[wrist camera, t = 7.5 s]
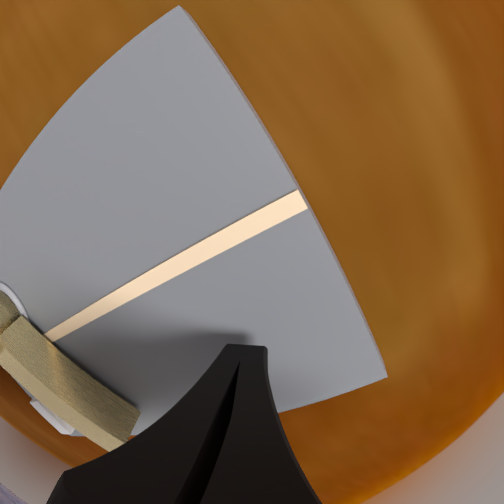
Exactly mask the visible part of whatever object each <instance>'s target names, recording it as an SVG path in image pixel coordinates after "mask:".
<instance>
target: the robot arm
mask: <svg viewBox="0 0 504 504" xmlns="http://www.w3.org/2000/svg"><path fill="white" fill-rule="evenodd" d="M0 504H27V503H26V502H24V501H23V500H21V499H20V498H19V497H17V496H16V495H15V494H14V493H12V492H11V491H10V490H9V489H7V488H6V487H5V486H4V485H2V484H1V483H0ZM46 504H322V503H321V501H320V500H319V498H318V497H317V495H316V493H315V492H314V490H313V489H312V487H311V485H310V484H309V482H308V480H307V478H306V476H305V474H304V473H303V471H302V469H301V467H300V465H299V463H298V461H297V460H296V457H295V455H294V453H293V451H292V449H291V447H290V444H289V442H288V440H287V437H286V435H285V432H284V430H283V427H282V424H281V421H280V419H279V415H278V412H277V409H276V406H275V402H274V399H273V395H272V390H271V386H270V381H269V376H268V348H266V347H265V346H258V345H242V344H226V345H225V346H224V348H223V349H222V351H221V352H220V353H219V355H218V356H217V357H216V359H215V360H214V361H213V363H212V364H211V365H210V367H209V368H208V369H207V370H206V372H205V373H204V374H203V375H202V376H201V377H200V379H199V380H198V381H197V382H196V383H195V384H194V386H193V387H192V388H191V389H190V390H189V391H188V392H187V393H186V394H185V395H184V396H183V397H182V398H181V399H180V400H179V401H178V402H177V403H176V404H175V405H174V406H173V407H172V408H171V409H170V410H169V411H167V412H166V413H165V414H164V415H163V416H162V417H161V418H159V419H158V420H157V421H156V422H154V423H153V424H152V425H151V426H149V427H148V428H146V429H145V430H144V431H142V432H141V433H139V434H138V435H137V436H135V437H134V438H132V439H131V440H129V441H127V442H126V443H124V444H122V445H121V446H119V447H117V448H115V449H114V450H112V451H110V452H108V453H106V454H104V455H103V456H101V457H98V458H96V459H94V460H92V461H89V462H87V463H85V464H82V465H80V466H77V467H75V468H72V469H69V470H67V471H64V472H63V474H62V475H61V477H60V478H59V480H58V482H57V484H56V486H55V488H54V490H53V491H52V493H51V495H50V497H49V499H48V501H47V503H46Z"/></svg>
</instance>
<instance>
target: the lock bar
mask: <svg viewBox="0 0 504 504" xmlns="http://www.w3.org/2000/svg"><path fill="white" fill-rule="evenodd" d="M0 365H1V366H2V367H3V368H4V369H5V370H6V371H7V372H8V373H9V374H10V375H11V376H12V377H13V378H15V379H16V380H17V381H18V382H19V383H20V384H21V385H22V386H23V387H24V388H25V389H26V390H27V391H29V392H30V393H31V394H32V395H33V396H34V397H35V398H36V399H38V400H39V401H40V402H41V403H42V404H44V405H45V406H46V407H47V408H48V409H50V410H51V411H52V412H53V413H55V414H56V415H57V416H58V417H60V418H61V419H62V420H64V421H65V422H66V423H68V424H69V425H70V426H72V427H73V428H74V429H76V430H77V431H79V432H80V433H82V434H83V435H84V436H86V437H87V438H89V439H90V440H92V441H93V442H95V443H96V444H98V445H99V446H101V447H103V448H104V449H106V450H107V451H109V452H110V451H112V450H114V449H115V448H117V447H119V446H121V445H122V444H124V443H126V442H127V440H128V438H129V436H130V434H131V432H132V430H133V428H134V426H135V424H136V422H137V420H138V418H139V416H140V414H141V411H139V410H138V409H136V408H135V407H133V406H132V405H130V404H129V403H127V402H126V401H124V400H123V399H121V398H120V397H118V396H117V395H116V394H114V393H113V392H111V391H110V390H108V389H107V388H106V387H104V386H103V385H102V384H100V383H99V382H98V381H96V380H95V379H94V378H92V377H91V376H90V375H88V374H87V373H86V372H85V371H83V370H82V369H81V368H80V367H78V366H77V365H76V364H75V363H73V362H72V361H71V360H70V359H69V358H67V357H66V356H65V355H64V354H63V353H61V352H60V351H59V350H58V349H57V348H56V347H55V346H53V345H52V344H51V343H50V342H49V341H48V340H47V339H46V338H45V337H44V336H43V335H41V334H40V333H39V332H38V331H37V330H36V329H35V328H34V327H33V326H32V325H31V324H30V323H29V322H28V321H27V320H26V319H25V318H24V317H23V316H22V315H21V316H20V314H19V312H18V310H17V308H16V306H15V305H14V303H13V302H12V301H11V300H10V298H9V297H8V296H7V295H6V294H5V293H3V292H2V291H0Z"/></svg>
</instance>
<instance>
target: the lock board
mask: <svg viewBox="0 0 504 504" xmlns="http://www.w3.org/2000/svg"><path fill="white" fill-rule="evenodd" d="M0 291H2V292H3V293H5V294H6V295H7V296H8V297H9V298H10V300H11V301H12V302H13V303H14V305H15V306H16V308H17V310H18V312H19V314H20V316H21V315H22V316H23V317H24V318H25V319H26V320H27V321H28V322H29V323H30V324H31V325H32V326H33V327H34V328H35V329H36V330H37V331H38V332H39V333H40V334H41V335H43V336H44V337H45V338H46V339H47V340H48V341H49V342H50V343H51V344H52V345H53V346H55V347H56V348H57V349H58V350H59V351H60V352H61V353H63V354H64V355H65V356H66V357H67V358H69V359H70V360H71V361H72V362H73V363H75V364H76V365H77V366H78V367H80V368H81V369H82V370H83V371H85V372H86V373H87V374H88V375H90V376H91V377H92V378H94V379H95V380H96V381H98V382H99V383H100V384H102V385H103V386H104V387H106V388H107V389H108V390H110V391H111V392H113V393H114V394H116V395H117V396H118V397H120V398H121V399H123V400H124V401H126V402H127V403H129V404H130V405H132V406H133V407H135V408H136V409H138V410H139V411H141V414H140V416H139V418H138V420H137V422H136V424H135V426H134V428H133V430H132V432H131V434H130V435H138V434H139V433H141V432H142V431H144V430H145V429H146V428H148V427H149V426H151V425H152V424H153V423H154V422H156V421H157V420H158V419H159V418H161V417H162V416H163V415H164V414H165V413H166V412H167V411H169V410H170V409H171V408H172V407H173V406H174V405H175V404H176V403H177V402H178V401H179V400H180V399H181V398H182V397H183V396H184V395H185V394H186V393H187V392H188V391H189V390H190V389H191V388H192V387H193V386H194V384H195V383H196V382H197V381H198V380H199V379H200V377H201V376H202V375H203V374H204V373H205V372H206V370H207V369H208V368H209V367H210V365H211V364H212V363H213V361H214V360H215V359H216V357H217V356H218V355H219V353H220V352H221V351H222V349H223V348H224V346H225V345H226V344H242V345H258V346H265V347H266V348H268V376H269V381H270V386H271V390H272V395H273V399H274V402H275V406H276V409H277V412H278V413H279V412H283V411H287V410H291V409H294V408H298V407H301V406H305V405H308V404H312V403H315V402H318V401H322V400H325V399H328V398H331V397H334V396H337V395H340V394H343V393H346V392H349V391H352V390H355V389H357V388H360V387H363V386H365V385H368V384H371V383H373V382H376V381H378V380H381V379H383V378H386V377H388V376H387V373H386V369H385V365H384V362H383V359H382V356H381V354H380V352H379V349H378V347H377V344H376V342H375V340H374V337H373V335H372V333H371V330H370V328H369V326H368V324H367V321H366V319H365V317H364V315H363V312H362V310H361V308H360V306H359V304H358V301H357V299H356V297H355V295H354V293H353V291H352V288H351V286H350V284H349V282H348V280H347V278H346V276H345V274H344V272H343V270H342V267H341V265H340V263H339V261H338V259H337V257H336V255H335V253H334V251H333V249H332V247H331V245H330V243H329V241H328V239H327V237H326V235H325V233H324V231H323V230H322V228H321V226H320V224H319V222H318V220H317V218H316V216H315V214H314V212H313V210H312V209H311V207H310V205H309V203H308V201H307V199H306V197H305V196H304V194H303V192H302V190H301V188H300V186H299V185H298V183H297V181H296V179H295V177H294V176H293V174H292V172H291V170H290V169H289V167H288V165H287V163H286V162H285V160H284V158H283V156H282V155H281V153H280V151H279V150H278V148H277V146H276V144H275V143H274V141H273V139H272V138H271V136H270V134H269V133H268V131H267V129H266V128H265V126H264V124H263V123H262V121H261V120H260V118H259V116H258V115H257V113H256V111H255V110H254V108H253V107H252V105H251V104H250V102H249V100H248V99H247V97H246V96H245V94H244V93H243V91H242V89H241V88H240V86H239V85H238V83H237V82H236V80H235V79H234V77H233V76H232V74H231V73H230V71H229V70H228V68H227V67H226V65H225V64H224V62H223V61H222V59H221V58H220V56H219V55H218V53H217V52H216V51H215V49H214V48H213V46H212V45H211V43H210V42H209V41H208V39H207V38H206V36H205V35H204V34H203V32H202V31H201V29H200V28H199V27H198V25H197V24H196V23H195V21H194V20H193V18H192V17H191V16H190V15H189V14H188V13H187V12H186V11H185V10H184V9H183V8H182V7H181V6H180V5H179V6H177V7H176V8H174V9H173V10H171V11H170V12H168V13H167V14H165V15H164V16H162V17H161V18H160V19H158V20H157V21H155V22H154V23H153V24H151V25H150V26H149V27H147V28H146V29H145V30H143V31H142V32H141V33H140V34H138V35H137V36H136V37H134V38H133V39H132V40H131V41H130V42H128V43H127V44H126V45H125V46H124V47H122V48H121V49H120V50H119V51H118V52H117V53H115V54H114V55H113V56H112V57H111V58H110V59H109V60H108V61H106V62H105V63H104V64H103V65H102V66H101V67H100V68H99V69H98V70H97V71H96V72H95V73H94V74H93V75H92V76H91V77H90V78H89V79H88V80H87V81H86V82H85V83H84V84H83V85H82V86H81V87H80V88H79V89H78V90H77V91H76V92H75V93H74V94H73V95H72V96H71V97H70V98H69V99H68V100H67V102H66V103H65V104H64V105H63V106H62V107H61V108H60V109H59V111H58V112H57V113H56V114H55V115H54V116H53V118H52V119H51V120H50V121H49V122H48V124H47V125H46V126H45V127H44V129H43V130H42V131H41V132H40V134H39V135H38V136H37V138H36V139H35V140H34V142H33V143H32V144H31V146H30V147H29V148H28V150H27V151H26V152H25V154H24V155H23V157H22V158H21V159H20V161H19V162H18V164H17V165H16V167H15V168H14V170H13V171H12V173H11V174H10V176H9V177H8V179H7V181H6V182H5V184H4V185H3V187H2V189H1V190H0ZM14 379H15V378H14ZM15 380H16V379H15ZM16 382H17V383H18V384H19V385H20V386H21V387H22V388H23V390H24V391H25V392H26V393H27V394H28V395H29V396H30V397H31V398H32V400H31V401H30V404H31V405H32V406H33V407H34V408H35V409H36V410H37V411H38V412H39V413H40V414H41V415H42V416H43V417H44V418H45V419H46V420H47V421H48V422H49V423H50V424H52V425H53V426H54V427H55V428H56V429H57V430H58V431H59V432H60V433H61V434H69V435H70V436H84V435H83V434H82V433H80V432H79V431H77V430H76V429H74V428H73V427H72V426H70V425H69V424H68V423H66V422H65V421H64V420H62V419H61V418H60V417H58V416H57V415H56V414H55V413H53V412H52V411H51V410H50V409H48V408H47V407H46V406H45V405H44V404H42V403H41V402H40V401H39V400H38V399H36V398H35V397H34V396H33V395H32V394H31V393H30V392H29V391H27V390H26V389H25V388H24V387H23V386H22V385H21V384H20V383H19V382H18V381H17V380H16Z"/></svg>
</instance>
